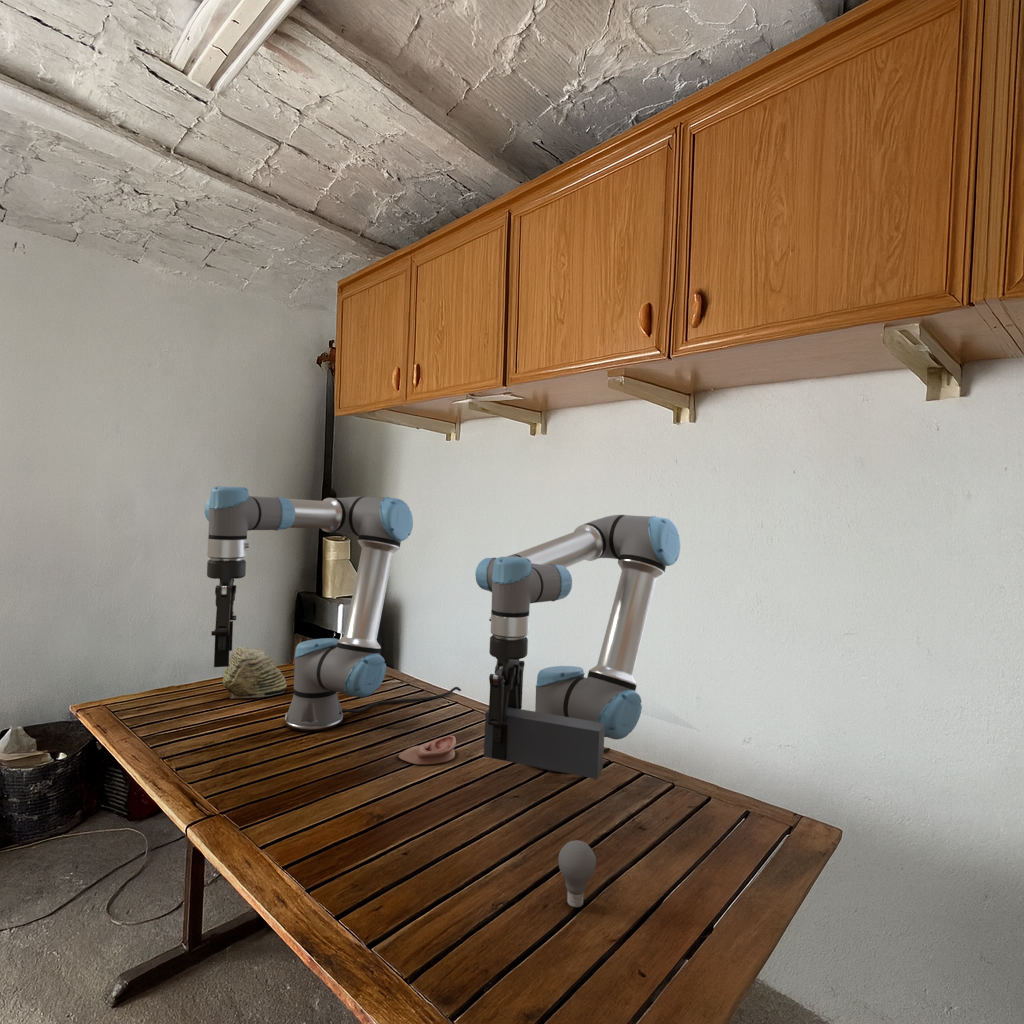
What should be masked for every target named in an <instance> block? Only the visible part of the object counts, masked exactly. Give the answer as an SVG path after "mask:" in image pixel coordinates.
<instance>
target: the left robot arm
mask: <svg viewBox="0 0 1024 1024" xmlns="http://www.w3.org/2000/svg"><path fill="white" fill-rule="evenodd" d="M204 516H205V519H206V521H208V536H207V537H208V538H207V550H206V551H207V553H206V556H207V558H209V559H208V560H207V562H206V575H207V576H206V577H207V578H209V579H213V580H216V579H218V580H219V583H218V584H219V585H218V584H216V586H215V588H214V596H215V607H216V610H215V611H216V614H215V629H214V630H212V631H211V636H214V651H213V652H214V654H213V668H226V667H229V659H230V652H231V651H232V652H233V638H234V637H233V636H234V635H233V634H234V633H233V632H234V621H237V615H235V614H234V613H235V612H234V604H235V601H236V595H237V585H236V584H234V582H235V580H236V579H242V578H244V577H246V573H247V571H246V570H247V561H246V560H245V559H244V558H245V557H246V556H247V549H249V548H250V546H251V545H250V543H247V539H248V531H276V532H278V531H280V530H288V529H321V530H322V531H323V532H326V533H337V534H342V535H348V536H352V537H358V538H357V543H358V544H359V546H360V547H361V552H360V557H359V561H358V567H357V572H356V577H355V582H354V586H353V591H352V596H351V602H350V607H349V612H348V616H347V621H346V627H345V632H344V635H342V637H341V638H339V639H338V638H335V637H333V638H332V637H329V638H328V637H326V638H313V639H308V640H304V641H302V642H299V643H298V644H297V645H296V647H295V652H294V653H295V654H294V657H293V659H294V660H293V662H294V663H293V665H294V666H293V695H292V696H293V697H292V699H291V702H290V704H289V708H288V711H286V712H285V716H284V720H285V726H286V728H287V729H289V730H291V731H294V732H295V731H296V732H301V733H316V732H325V731H329V730H332V729H335V728H337V727H339V726H340V725H342V723H343V722H344V714H343V713H351V714H353V713H354V714H357V713H358V714H359V713H362V712H365V711H366V710H368V709H370V708H372V707H376V706H381V705H388V704H396V703H397V704H398V703H409V702H410V703H411V702H422V701H431V700H436V699H439V698H443V697H446V696H449V695H450V694H452V693H453V692H454V691H456V690H457V692H461V691H462V689H461V688H460V687H459V686H454V687H453V688H451V689H450V690H449V691H446V692H444V693H440V694H436V695H431V696H425V697H413V698H402V699H401V698H400V699H389V700H380V701H376V702H375V701H374V702H372V703H369V704H368V705H366V706H364V707H361V708H358V709H353V708H352V709H350V708H342V706H341V702H340V699H339V695H338V694H343V695H347V696H348V697H354V698H355V697H356V698H367V697H370V696H371V695H373V694H374V693H375V692H376V691H377V690H378V689H379V688H380V686H381V685H382V683H383V681H384V679H385V675H386V672H387V663H385V658H384V657H383V656H382V655H381V649H382V647H381V645H380V643H379V642H378V640H377V639H378V635H379V629H380V625H381V624H380V623H381V619H382V613H383V608H384V603H385V597H386V593H387V587H388V582H389V577H390V571H391V566H392V561H393V556H394V554H395V553H396V552H397V551H399V550H400V548H401V544H402V543H401V542H403V541H405V540H407V539H408V538H409V536H411V534H412V531H413V528H414V526H413V525H414V518H413V517H414V516H413V514H412V511H411V509H410V506H409V505H408V504H407V503H406V502H405V501H404V500H402V499H400V498H397V497H390V496H386V497H385V496H363V495H361V496H347V497H326V498H324V499H323V500H314V499H313V500H312V499H300V498H299V499H298V498H286V497H279V496H257V495H255V496H254V495H249V489H248V488H247V487H244V486H243V487H242V486H225V485H223V486H221V485H219V486H218V485H216V486H213V487H212V488H211V489H210V494H209V498H208V499H207V501H206V503H205V505H204Z"/></svg>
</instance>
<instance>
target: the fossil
mask: <svg viewBox="0 0 1024 1024" xmlns="http://www.w3.org/2000/svg"><path fill="white" fill-rule="evenodd" d="M222 676H223V677H222V685H223V687H224V688H225V690H226V691H228V693H229V698H230V699H250V698H264V697H271V696H275V695H281V694H284V693H285V691H286V689H287V687H288V686H287V680H286V678H285V676H284V674H283V673H282V672H281V669H279V668H278V667H277V665H276V663H275V662H274V660H273V659H272V658H271V657H270V656H269V655H268V654H267V653H266V652H265V650H264V649H263V648H260V647H258V648H251V647H247V646H246V647H245V646H238V647H237V648H236V649H235V650H233V651H232V653H231V656H229V667H224V671H223V675H222Z"/></svg>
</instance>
